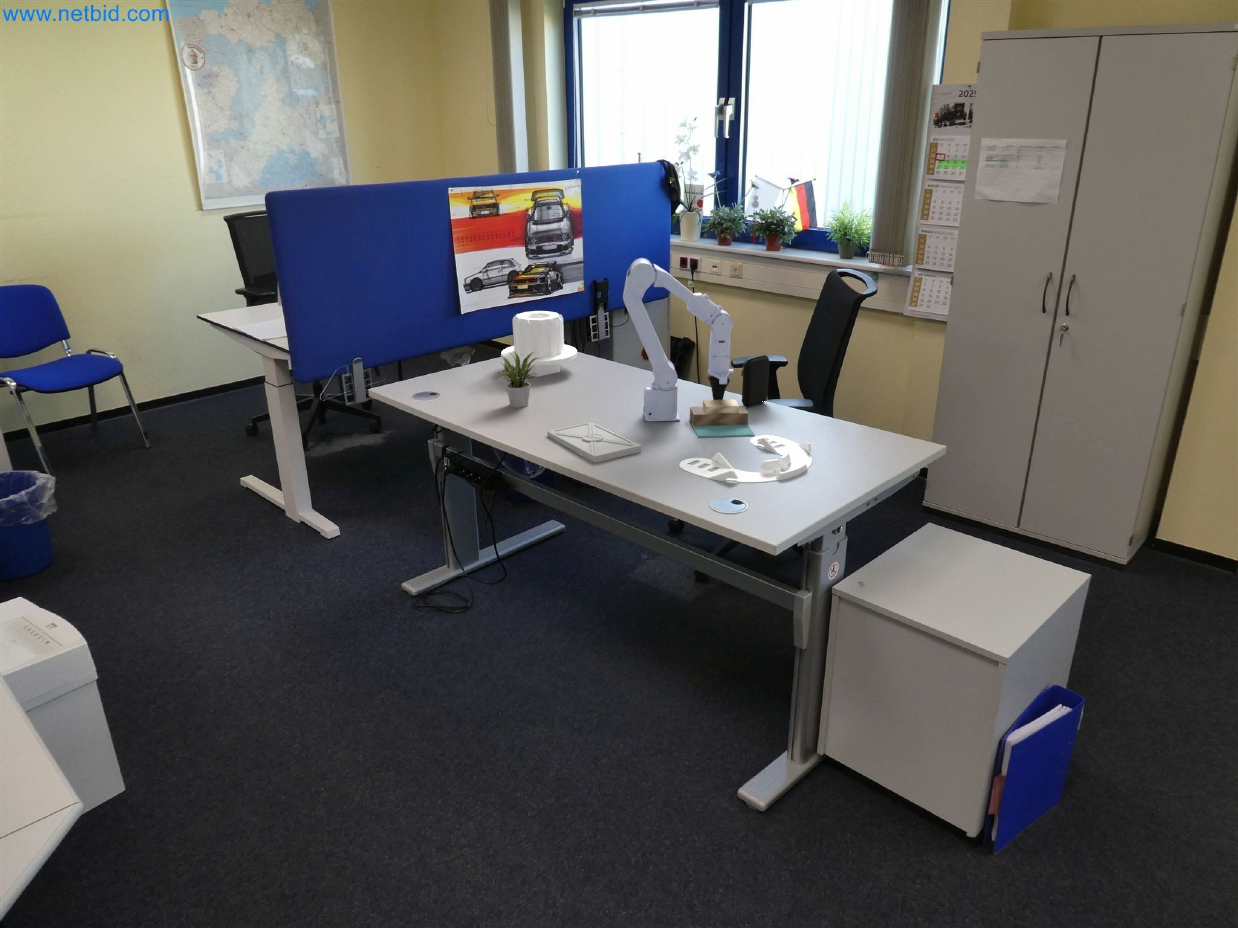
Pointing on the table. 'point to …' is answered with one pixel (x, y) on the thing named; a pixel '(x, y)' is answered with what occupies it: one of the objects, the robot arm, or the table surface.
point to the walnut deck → (718, 417)
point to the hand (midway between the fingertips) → (717, 402)
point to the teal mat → (723, 431)
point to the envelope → (594, 442)
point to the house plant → (518, 381)
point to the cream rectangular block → (720, 406)
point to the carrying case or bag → (755, 381)
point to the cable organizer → (789, 455)
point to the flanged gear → (539, 342)
